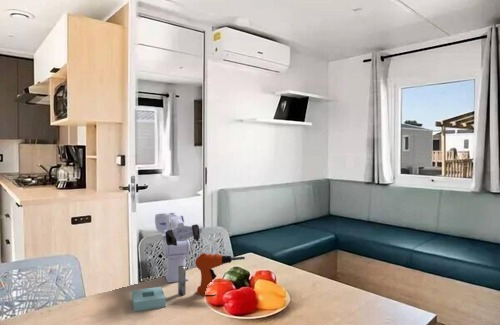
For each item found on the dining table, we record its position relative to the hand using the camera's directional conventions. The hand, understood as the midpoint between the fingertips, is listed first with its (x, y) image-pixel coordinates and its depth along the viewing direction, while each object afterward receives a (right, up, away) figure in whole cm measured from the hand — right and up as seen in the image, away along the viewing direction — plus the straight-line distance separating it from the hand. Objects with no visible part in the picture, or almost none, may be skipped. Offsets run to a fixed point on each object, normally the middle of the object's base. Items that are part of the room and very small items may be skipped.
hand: (186, 240), depth 123 cm
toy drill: (+11, -21, +5) cm, 24 cm away
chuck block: (-12, -20, -3) cm, 24 cm away
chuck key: (-2, -20, +4) cm, 21 cm away
